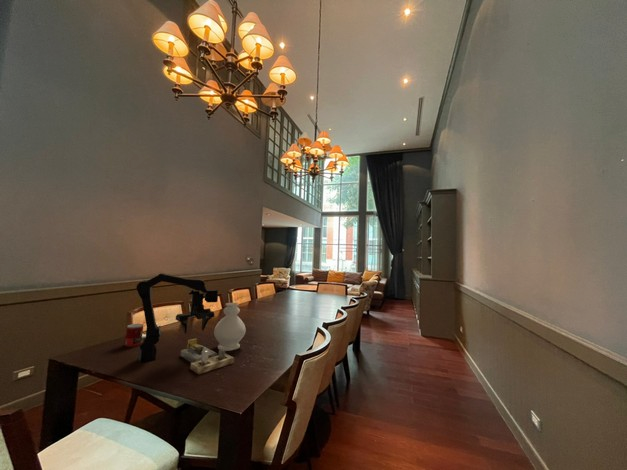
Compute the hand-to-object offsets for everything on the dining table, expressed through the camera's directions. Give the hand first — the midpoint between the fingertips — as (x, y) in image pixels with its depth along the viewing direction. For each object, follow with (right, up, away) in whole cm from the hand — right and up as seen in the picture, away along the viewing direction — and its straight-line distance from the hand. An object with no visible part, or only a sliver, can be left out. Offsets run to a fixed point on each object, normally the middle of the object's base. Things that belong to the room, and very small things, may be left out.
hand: (194, 332), depth 135 cm
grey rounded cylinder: (+12, -11, -16) cm, 23 cm away
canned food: (-39, -11, +9) cm, 42 cm away
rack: (+15, -11, -13) cm, 23 cm away
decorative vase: (+14, -14, +13) cm, 24 cm away
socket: (+4, -12, -4) cm, 13 cm away
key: (+1, -8, -1) cm, 9 cm away
